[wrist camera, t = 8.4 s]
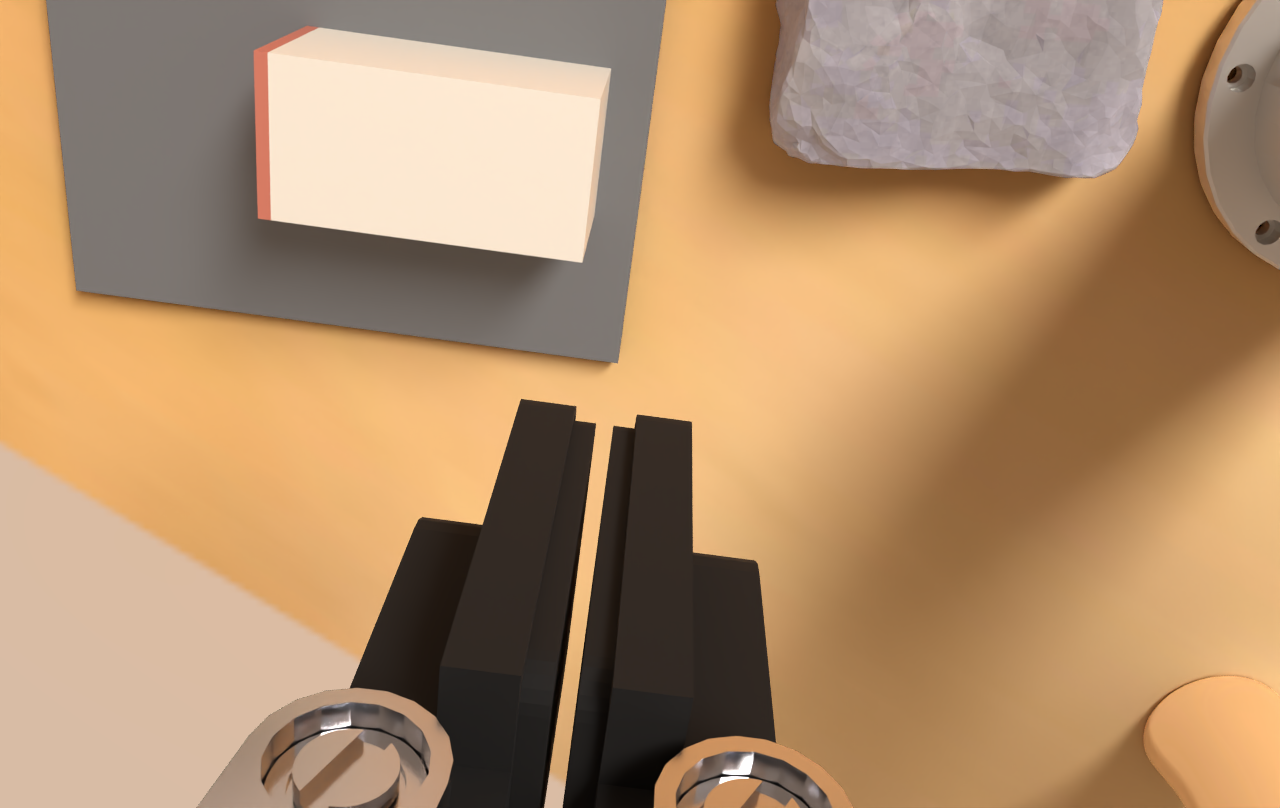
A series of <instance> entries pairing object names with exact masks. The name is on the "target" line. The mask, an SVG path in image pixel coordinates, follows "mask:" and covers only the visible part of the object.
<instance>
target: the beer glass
mask: <svg viewBox="0 0 1280 808" xmlns="http://www.w3.org/2000/svg"><path fill="white" fill-rule="evenodd" d="M1143 742H1144V748H1145V752H1146V754H1147V756H1148V758H1149V760H1150V761H1151V763H1152V764H1153V766H1154V767H1155V768H1156V769H1157V771H1158V772H1159V773H1160V774H1161V775H1162V777H1163V778H1164V779H1165V780H1166V781H1167V782H1168V784H1169V785H1170V786H1171V787H1172V789H1173V790H1174V791H1175V792H1176V794H1177V795H1178V797H1179V798H1180V800H1181V802H1182V803H1183V805H1184V807H1185V808H1280V696H1279V695H1278V694H1277V693H1276V692H1275V691H1273V690H1272V689H1271V688H1270V687H1268V686H1267V685H1265V684H1263V683H1261V682H1259V681H1256V680H1253V679H1250V678H1245V677H1239V676H1216V677H1209V678H1204V679H1201V680H1197V681H1194V682H1192V683H1189V684H1187V685H1185V686H1182V687H1181V688H1179V689H1177V690H1175V691H1174V692H1172V693H1171V694H1169V695H1168V696H1167V697H1166V698H1164V699H1163V700H1162V701H1161V702H1160V703H1159V704H1158V705H1157V706H1156V708H1155V709H1154V710H1153V711H1152V713H1151V714H1150V716H1149V718H1148V720H1147V722H1146V725H1145V728H1144V734H1143Z"/></svg>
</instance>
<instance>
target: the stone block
mask: <svg viewBox="0 0 1280 808" xmlns="http://www.w3.org/2000/svg"><path fill="white" fill-rule="evenodd" d="M1162 5H1163V0H777V1H776V9H777V12H778V15H779V19H780V23H781V27H780V34H779V45H778V48H777V52H776V61H775V64H774V74H773V79H772V87H771V95H770V103H769V110H770V124H771V128H772V138H773V142H774V143H775V144H776V145H777V146H779V147H780V148H782V149H783V150H785V151H786V152H787V154H788V156H791V157H796V158H799V159H801V160H803V161H805V162H808V163H818V164H828V165H837V166H844V167H855V168H887V169H906V170H941V169H967V168H971V169H999V170H1007V171H1028V172H1034V173H1040V174H1046V175H1052V176H1058V177H1064V178H1096V177H1099V176H1101V175H1103V174H1106V173H1108V172H1110V171H1112V170H1114V169H1115V168H1116V167H1117V166H1118V165H1119V164H1120V163H1121V162H1122V160H1123V159H1124V157H1125V156H1126V154H1127V153H1128V152H1129V150H1130V148H1131V147H1132V145H1133V144H1134V141H1135V138H1136V135H1137V131H1138V124H1137V118H1138V114H1139V111H1140V108H1141V105H1142V87H1143V83H1144V79H1145V74H1146V69H1147V65H1148V62H1149V58H1150V54H1151V50H1152V45H1153V40H1154V36H1155V31H1156V28H1157V24H1158V21H1159V18H1160V16H1161V12H1162Z"/></svg>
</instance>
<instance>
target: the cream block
mask: <svg viewBox="0 0 1280 808" xmlns="http://www.w3.org/2000/svg"><path fill="white" fill-rule="evenodd" d="M610 76H611V68H604V67H597V66H590V65H583V64H576V63H569V62H562V61H554V60H547V59H540V58H533V57H526V56H519V55H512V54H505V53H498V52H490V51H483V50H476V49H469V48H462V47H455V46H448V45H441V44H433V43H426V42H419V41H412V40H405V39H398V38H391V37H384V36H377V35H369V34H362V33H355V32H348V31H341V30H334V29H327V28H320V27H313V26H305V27H303V28H301V29H299V30H297V31H295V32H293V33H290V34H288V35H286V36H284V37H282V38H280V39H277V40H275V41H273V42H271V43H269V44H267V45H265V46H262V47H260V48H258V49H256V50H254V87H255V126H256V166H257V205H258V219H265V220H272V221H280V222H287V223H294V224H302V225H309V226H316V227H324V228H331V229H338V230H346V231H353V232H360V233H368V234H375V235H382V236H390V237H397V238H404V239H412V240H419V241H426V242H434V243H441V244H448V245H456V246H463V247H470V248H478V249H485V250H492V251H500V252H507V253H514V254H522V255H529V256H536V257H544V258H551V259H558V260H566V261H573V262H580V263H582V262H583V258H584V254H585V250H586V246H587V242H588V238H589V235H590V231H591V227H592V223H593V219H594V215H595V206H596V198H597V189H598V180H599V171H600V163H601V154H602V145H603V137H604V128H605V119H606V111H607V102H608V93H609V84H610Z"/></svg>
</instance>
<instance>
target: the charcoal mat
mask: <svg viewBox="0 0 1280 808" xmlns="http://www.w3.org/2000/svg"><path fill="white" fill-rule="evenodd" d="M46 3H47V12H48V22H49V32H50V41H51V51H52V60H53V70H54V80H55V89H56V99H57V109H58V118H59V128H60V137H61V147H62V157H63V166H64V176H65V185H66V195H67V205H68V214H69V224H70V233H71V243H72V253H73V262H74V272H75V281H76V290H77V291H84V292H91V293H99V294H106V295H114V296H121V297H129V298H136V299H144V300H151V301H158V302H166V303H173V304H181V305H188V306H196V307H203V308H210V309H218V310H225V311H233V312H240V313H248V314H255V315H263V316H270V317H277V318H285V319H292V320H300V321H307V322H315V323H322V324H330V325H337V326H344V327H352V328H359V329H367V330H374V331H382V332H389V333H396V334H404V335H411V336H419V337H426V338H434V339H441V340H449V341H456V342H463V343H471V344H478V345H486V346H493V347H501V348H508V349H515V350H523V351H530V352H538V353H545V354H553V355H560V356H568V357H575V358H582V359H590V360H597V361H605V362H612V363H618V359H619V352H620V344H621V337H622V329H623V322H624V314H625V307H626V299H627V292H628V284H629V277H630V269H631V262H632V254H633V247H634V239H635V231H636V224H637V216H638V209H639V201H640V194H641V186H642V179H643V171H644V164H645V156H646V149H647V141H648V134H649V126H650V119H651V111H652V104H653V96H654V89H655V81H656V74H657V66H658V58H659V51H660V43H661V36H662V28H663V21H664V13H665V6H666V0H46ZM305 26H313V27H320V28H327V29H334V30H341V31H348V32H355V33H362V34H369V35H377V36H384V37H391V38H398V39H405V40H412V41H419V42H426V43H433V44H441V45H448V46H455V47H462V48H469V49H476V50H483V51H490V52H498V53H505V54H512V55H519V56H526V57H533V58H540V59H547V60H554V61H562V62H569V63H576V64H583V65H590V66H597V67H604V68H611V76H610V84H609V93H608V102H607V111H606V119H605V128H604V137H603V145H602V154H601V163H600V171H599V180H598V189H597V198H596V206H595V215H594V219H593V223H592V227H591V231H590V235H589V238H588V242H587V246H586V250H585V254H584V258H583V262H582V263H580V262H573V261H566V260H558V259H551V258H544V257H536V256H529V255H522V254H514V253H507V252H500V251H492V250H485V249H478V248H470V247H463V246H456V245H448V244H441V243H434V242H426V241H419V240H412V239H404V238H397V237H390V236H382V235H375V234H368V233H360V232H353V231H346V230H338V229H331V228H324V227H316V226H309V225H302V224H294V223H287V222H280V221H272V220H265V219H258V205H257V166H256V126H255V87H254V50H256V49H258V48H260V47H262V46H265V45H267V44H269V43H271V42H273V41H275V40H277V39H280V38H282V37H284V36H286V35H288V34H290V33H293V32H295V31H297V30H299V29H301V28H303V27H305Z"/></svg>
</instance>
